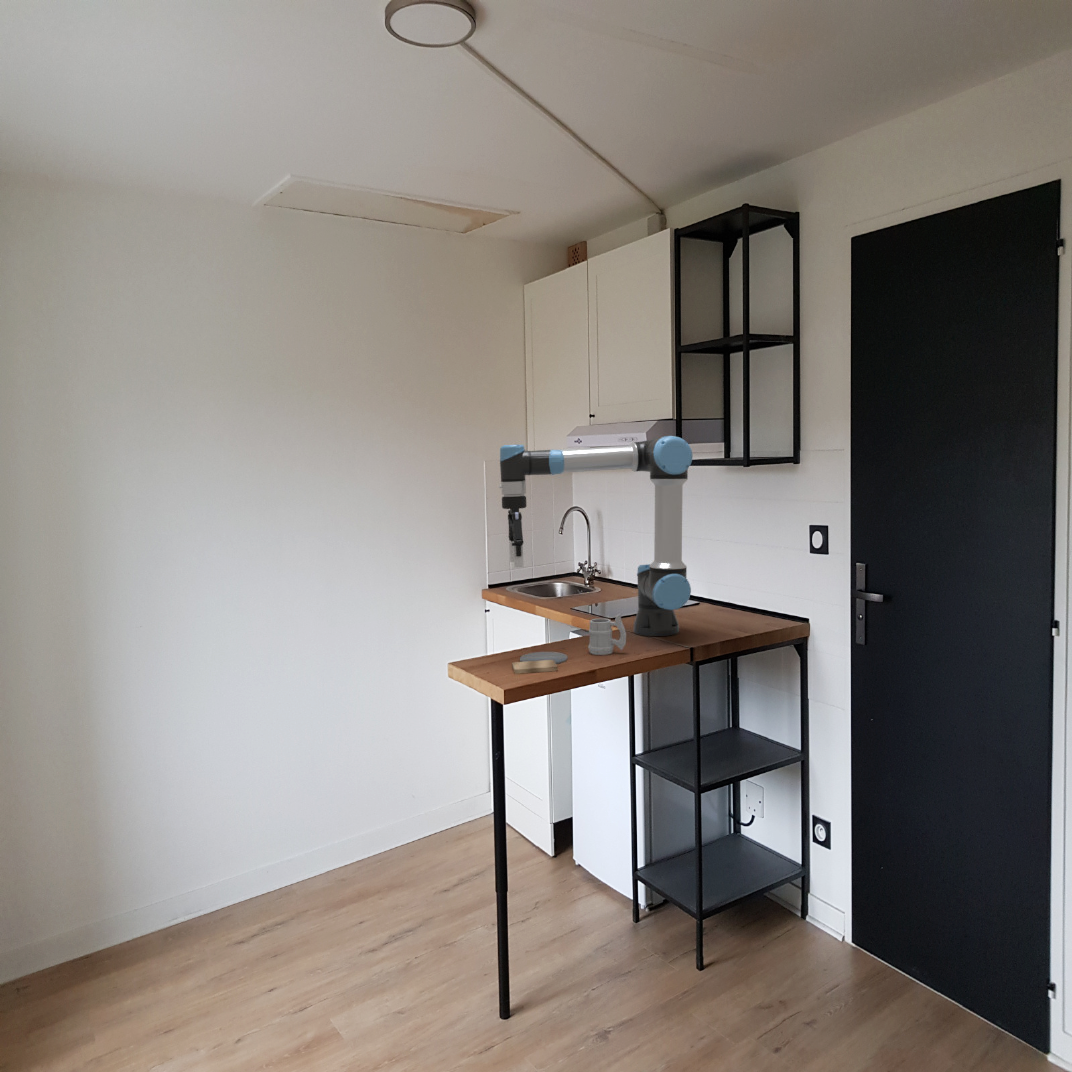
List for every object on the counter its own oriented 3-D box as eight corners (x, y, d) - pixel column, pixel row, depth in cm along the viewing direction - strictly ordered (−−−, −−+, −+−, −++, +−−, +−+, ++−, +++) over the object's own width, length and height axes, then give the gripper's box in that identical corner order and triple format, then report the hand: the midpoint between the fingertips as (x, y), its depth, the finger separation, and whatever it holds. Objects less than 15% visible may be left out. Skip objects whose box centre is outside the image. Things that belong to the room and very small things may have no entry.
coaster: (563, 652, 245) (563, 650, 245) (571, 663, 231) (571, 661, 231) (517, 655, 243) (517, 653, 243) (522, 666, 229) (522, 664, 229)
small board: (553, 663, 232) (553, 659, 231) (557, 670, 224) (557, 666, 224) (512, 666, 230) (511, 662, 230) (514, 673, 222) (514, 669, 222)
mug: (591, 648, 248) (590, 610, 247) (629, 650, 244) (628, 611, 243) (585, 654, 241) (584, 615, 240) (624, 656, 237) (623, 616, 236)
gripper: (498, 494, 257) (501, 560, 259) (505, 497, 232) (508, 570, 234) (521, 493, 258) (524, 558, 260) (530, 496, 233) (533, 568, 235)
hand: (516, 564), depth 247 cm, fingers open, 13 cm apart
